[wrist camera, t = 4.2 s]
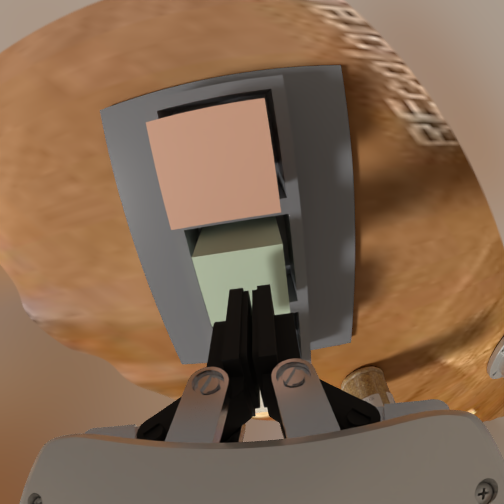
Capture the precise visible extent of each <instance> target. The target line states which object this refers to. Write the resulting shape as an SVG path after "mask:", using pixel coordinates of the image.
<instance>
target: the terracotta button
mask: <svg viewBox="0 0 504 504" xmlns="http://www.w3.org/2000/svg"><path fill="white" fill-rule="evenodd" d="M146 126H147V131H148V136H149V141H150V146H151V150H152V155H153V159H154V164H155V168H156V172H157V176H158V181H159V185H160V189H161V193H162V197H163V201H164V205H165V209H166V212H167V216H168V220H169V224H170V227H171V230H175V229H181V228H186V227H192V226H198V225H204V224H210V223H216V222H222V221H228V220H235V219H241V218H247V217H254V216H261V215H267V214H274V213H281V207H280V199H279V192H278V184H277V177H276V170H275V163H274V156H273V149H272V142H271V136H270V129H269V123H268V116H267V110H266V104H265V98H260V99H253V100H246V101H240V102H234V103H228V104H223V105H217V106H212V107H207V108H202V109H197V110H193V111H188V112H184V113H180V114H176V115H172V116H168V117H164V118H160V119H156V120H153V121H149V122H146Z"/></svg>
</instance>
